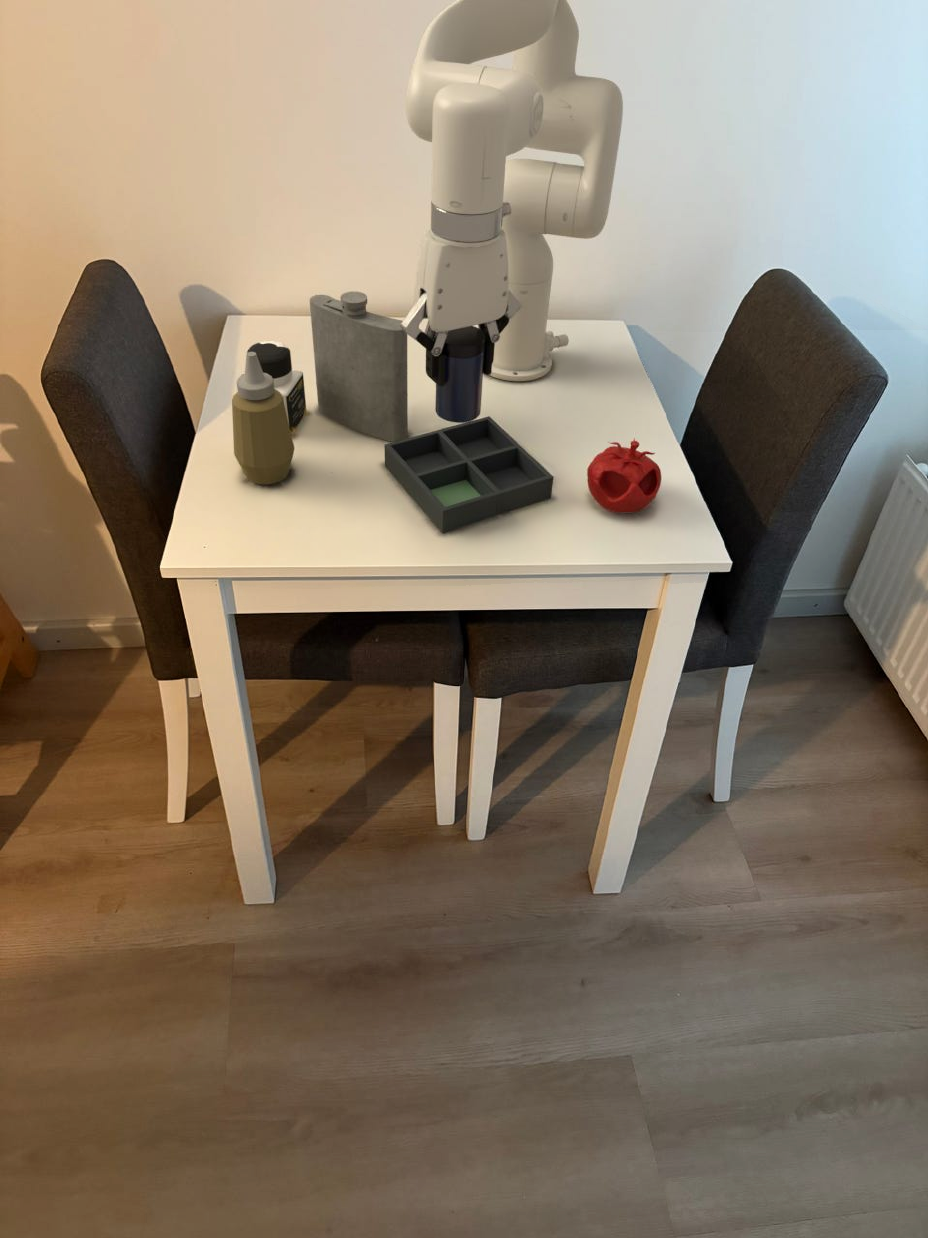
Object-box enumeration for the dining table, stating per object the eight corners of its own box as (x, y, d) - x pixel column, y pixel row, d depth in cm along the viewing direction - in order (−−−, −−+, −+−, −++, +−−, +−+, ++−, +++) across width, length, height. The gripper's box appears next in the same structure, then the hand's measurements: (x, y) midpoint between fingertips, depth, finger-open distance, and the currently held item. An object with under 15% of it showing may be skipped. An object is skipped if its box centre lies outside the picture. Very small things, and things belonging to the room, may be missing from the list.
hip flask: (411, 435, 132) (411, 305, 118) (395, 447, 130) (394, 316, 116) (327, 401, 138) (318, 274, 124) (310, 413, 136) (299, 284, 122)
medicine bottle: (291, 437, 130) (283, 362, 122) (245, 430, 131) (234, 355, 123) (307, 412, 136) (300, 339, 127) (262, 406, 136) (253, 332, 128)
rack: (487, 437, 133) (489, 415, 130) (551, 498, 122) (554, 476, 120) (384, 465, 126) (384, 444, 124) (442, 533, 116) (442, 511, 113)
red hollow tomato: (578, 478, 126) (587, 421, 120) (647, 478, 127) (660, 421, 120) (590, 522, 119) (600, 463, 113) (663, 521, 120) (677, 463, 113)
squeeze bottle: (270, 497, 120) (253, 376, 107) (225, 477, 123) (204, 357, 110) (308, 469, 125) (297, 350, 112) (264, 450, 128) (248, 332, 115)
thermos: (466, 395, 113) (470, 320, 106) (488, 416, 109) (494, 340, 102) (427, 405, 111) (428, 329, 104) (449, 427, 107) (451, 350, 100)
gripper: (516, 197, 100) (504, 347, 112) (377, 219, 93) (381, 376, 106) (553, 220, 95) (536, 374, 108) (409, 245, 89) (409, 406, 101)
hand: (459, 373), depth 107 cm, fingers closed on thermos, 5 cm apart
